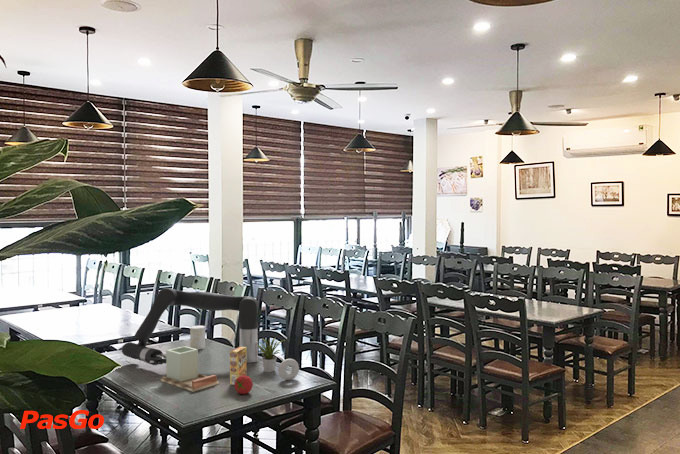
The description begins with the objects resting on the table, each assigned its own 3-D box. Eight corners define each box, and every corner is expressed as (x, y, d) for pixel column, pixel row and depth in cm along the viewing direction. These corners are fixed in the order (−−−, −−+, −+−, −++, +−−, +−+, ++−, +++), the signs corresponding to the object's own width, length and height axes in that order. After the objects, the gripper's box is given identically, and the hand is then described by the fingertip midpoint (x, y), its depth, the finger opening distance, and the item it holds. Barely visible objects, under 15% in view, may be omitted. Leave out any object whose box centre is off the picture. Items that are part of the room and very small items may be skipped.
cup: (187, 348, 308) (187, 327, 308) (196, 345, 316) (196, 325, 315) (199, 350, 305) (199, 328, 305) (207, 346, 312) (207, 326, 312)
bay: (160, 380, 249) (160, 372, 249) (186, 373, 260) (186, 365, 260) (193, 391, 234) (193, 382, 234) (218, 383, 245) (218, 375, 245)
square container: (166, 377, 250) (166, 350, 249) (184, 372, 258) (184, 346, 257) (179, 382, 244) (179, 353, 243) (197, 376, 252) (197, 349, 251)
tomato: (248, 370, 237) (238, 371, 230) (259, 384, 233) (248, 385, 227) (237, 383, 238) (226, 385, 231) (247, 397, 235) (237, 399, 228)
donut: (279, 382, 248) (279, 360, 248) (277, 380, 251) (277, 358, 251) (300, 379, 253) (300, 358, 252) (297, 377, 256) (297, 356, 255)
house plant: (282, 365, 277) (282, 333, 276) (288, 372, 263) (289, 339, 263) (254, 367, 272) (254, 334, 272) (259, 375, 259) (259, 341, 259)
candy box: (237, 385, 243) (237, 351, 243) (229, 384, 244) (229, 350, 244) (247, 379, 252) (247, 347, 251) (238, 379, 253) (238, 346, 252)
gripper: (139, 351, 261) (160, 357, 250) (163, 345, 271) (184, 351, 260) (139, 366, 261) (160, 373, 250) (163, 360, 271) (184, 366, 261)
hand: (172, 362), depth 255 cm, fingers closed
